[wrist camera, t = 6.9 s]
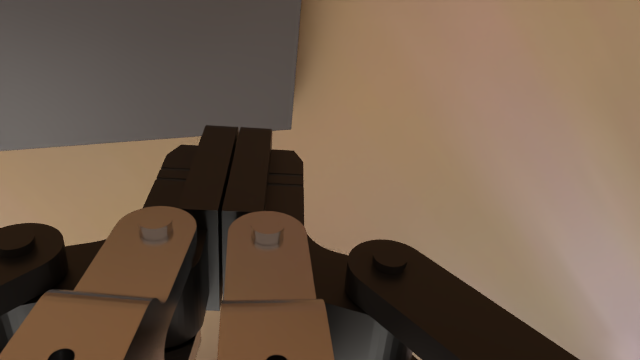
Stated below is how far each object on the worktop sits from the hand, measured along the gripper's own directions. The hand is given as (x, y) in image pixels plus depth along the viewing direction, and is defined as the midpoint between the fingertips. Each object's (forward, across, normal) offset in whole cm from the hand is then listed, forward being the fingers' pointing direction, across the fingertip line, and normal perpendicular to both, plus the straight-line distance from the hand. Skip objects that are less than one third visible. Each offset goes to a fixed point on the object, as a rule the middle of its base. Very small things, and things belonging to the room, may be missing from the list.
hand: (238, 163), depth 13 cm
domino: (+7, -1, -1) cm, 7 cm away
